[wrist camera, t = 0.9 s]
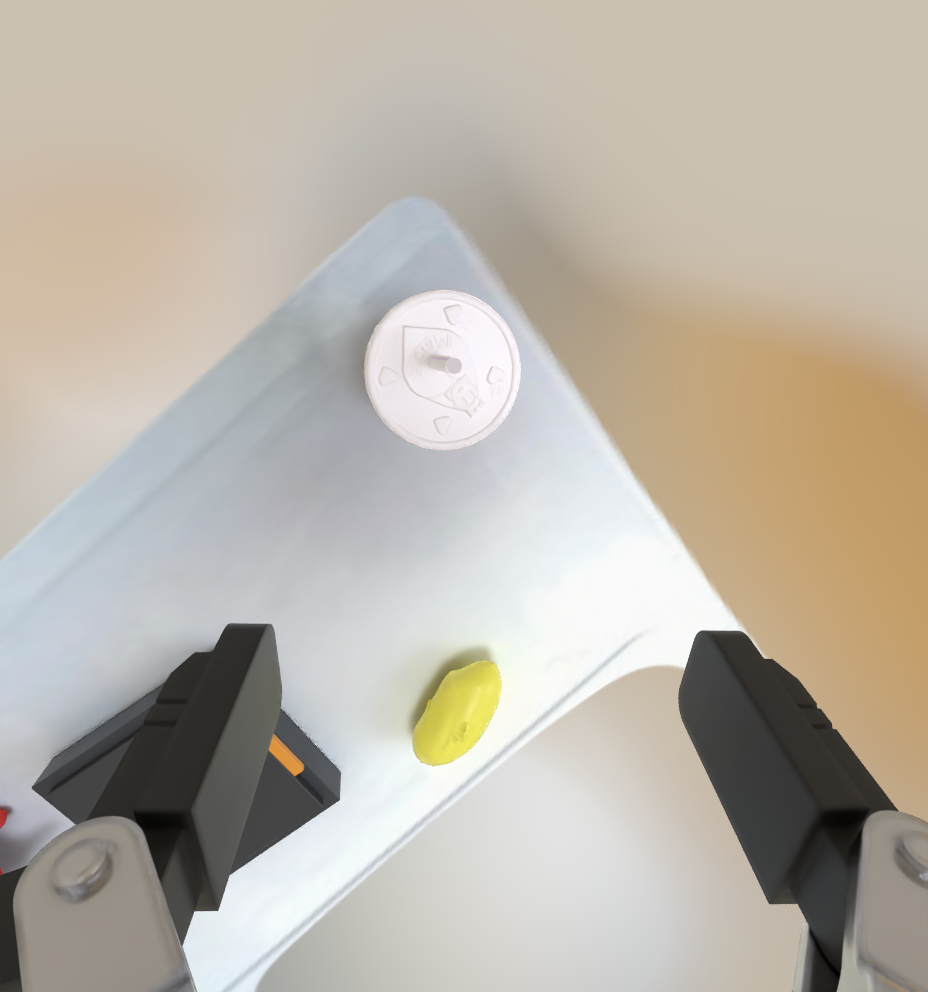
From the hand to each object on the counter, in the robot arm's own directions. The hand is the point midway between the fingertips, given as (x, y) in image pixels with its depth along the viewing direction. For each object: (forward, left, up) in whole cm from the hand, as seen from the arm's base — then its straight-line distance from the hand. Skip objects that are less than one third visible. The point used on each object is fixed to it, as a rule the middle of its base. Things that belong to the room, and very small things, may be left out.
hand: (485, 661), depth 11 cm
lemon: (+16, -6, -23) cm, 29 cm away
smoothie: (-3, +4, -23) cm, 24 cm away
